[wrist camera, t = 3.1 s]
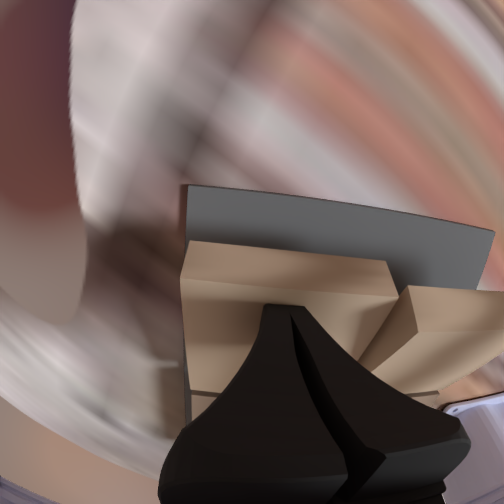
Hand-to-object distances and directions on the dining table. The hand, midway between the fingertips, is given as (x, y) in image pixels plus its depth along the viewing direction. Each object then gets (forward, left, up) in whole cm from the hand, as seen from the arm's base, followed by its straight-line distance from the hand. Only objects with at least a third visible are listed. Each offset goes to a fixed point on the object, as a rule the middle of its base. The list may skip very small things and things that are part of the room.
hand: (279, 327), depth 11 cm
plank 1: (0, +1, -2) cm, 3 cm away
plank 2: (-8, +1, -2) cm, 8 cm away
